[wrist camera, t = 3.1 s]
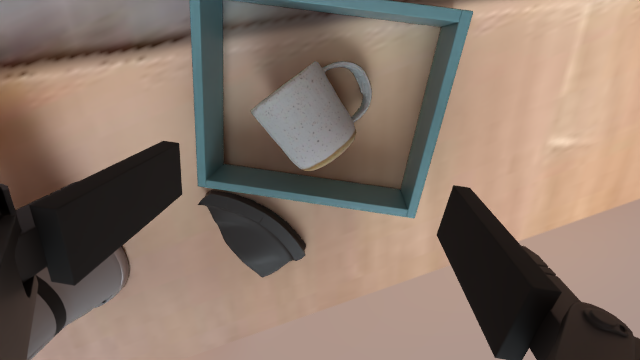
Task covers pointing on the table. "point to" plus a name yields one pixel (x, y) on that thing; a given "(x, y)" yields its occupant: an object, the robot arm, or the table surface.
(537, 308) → the robot arm
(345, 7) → the teal rectangular frame
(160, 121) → the table surface
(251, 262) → the dark sector wedge
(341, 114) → the ceramic mug
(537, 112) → the table surface
